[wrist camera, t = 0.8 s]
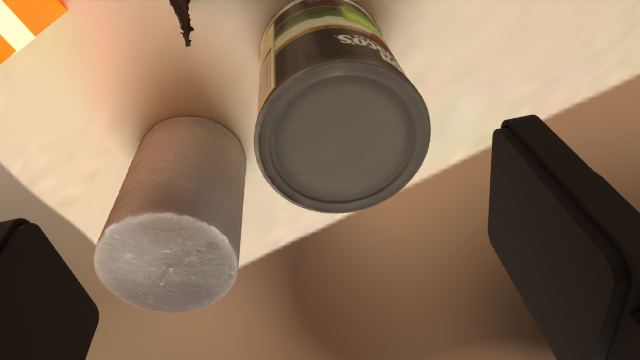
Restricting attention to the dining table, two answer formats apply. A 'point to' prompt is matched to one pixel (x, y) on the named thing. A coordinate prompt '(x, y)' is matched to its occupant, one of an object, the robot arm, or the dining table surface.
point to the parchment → (183, 17)
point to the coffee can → (335, 110)
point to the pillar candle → (176, 219)
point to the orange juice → (24, 22)
